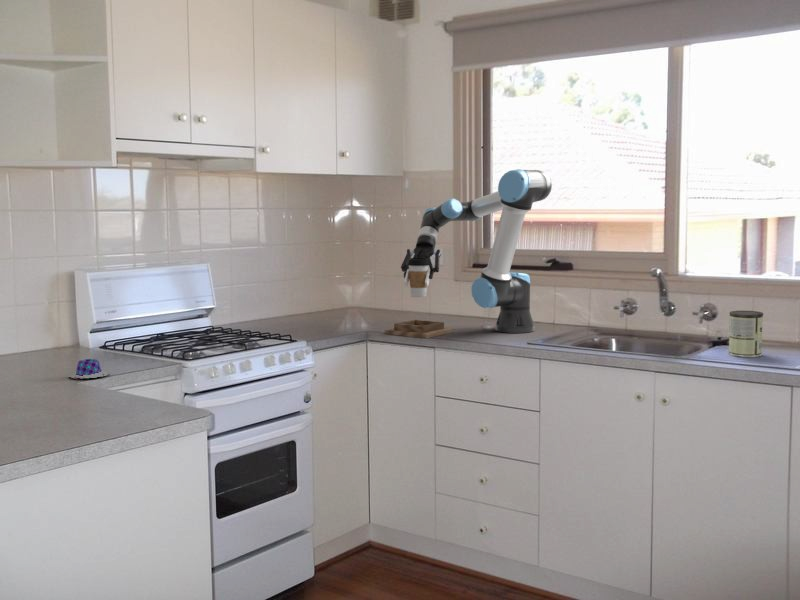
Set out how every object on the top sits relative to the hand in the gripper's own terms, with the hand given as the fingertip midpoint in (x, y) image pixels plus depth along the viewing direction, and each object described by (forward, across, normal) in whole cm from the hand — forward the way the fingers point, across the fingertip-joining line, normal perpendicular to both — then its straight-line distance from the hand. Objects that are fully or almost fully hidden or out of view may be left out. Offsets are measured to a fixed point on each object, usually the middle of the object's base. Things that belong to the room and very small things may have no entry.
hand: (416, 284), depth 341 cm
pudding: (+87, +74, +59) cm, 128 cm away
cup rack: (+11, 0, -16) cm, 20 cm away
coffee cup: (+1, 0, -6) cm, 6 cm away
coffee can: (+27, -118, -1) cm, 121 cm away
